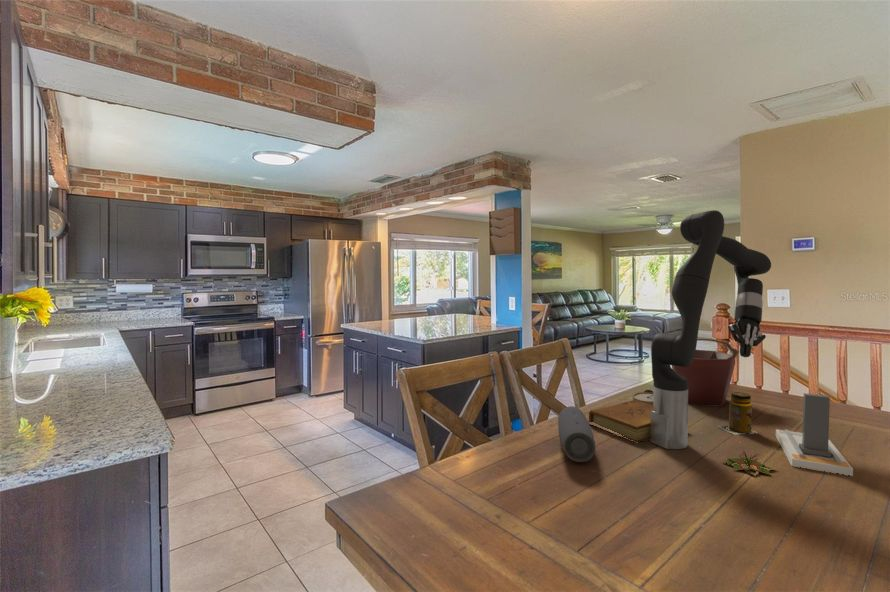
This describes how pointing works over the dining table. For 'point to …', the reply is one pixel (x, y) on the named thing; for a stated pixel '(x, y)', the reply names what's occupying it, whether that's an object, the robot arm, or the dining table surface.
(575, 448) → the bluetooth speaker
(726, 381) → the bucket
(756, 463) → the succulent plant
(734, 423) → the condiment
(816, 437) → the switch lever
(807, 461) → the switch board
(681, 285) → the robot arm
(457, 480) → the dining table surface
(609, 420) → the diary
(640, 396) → the alarm clock
